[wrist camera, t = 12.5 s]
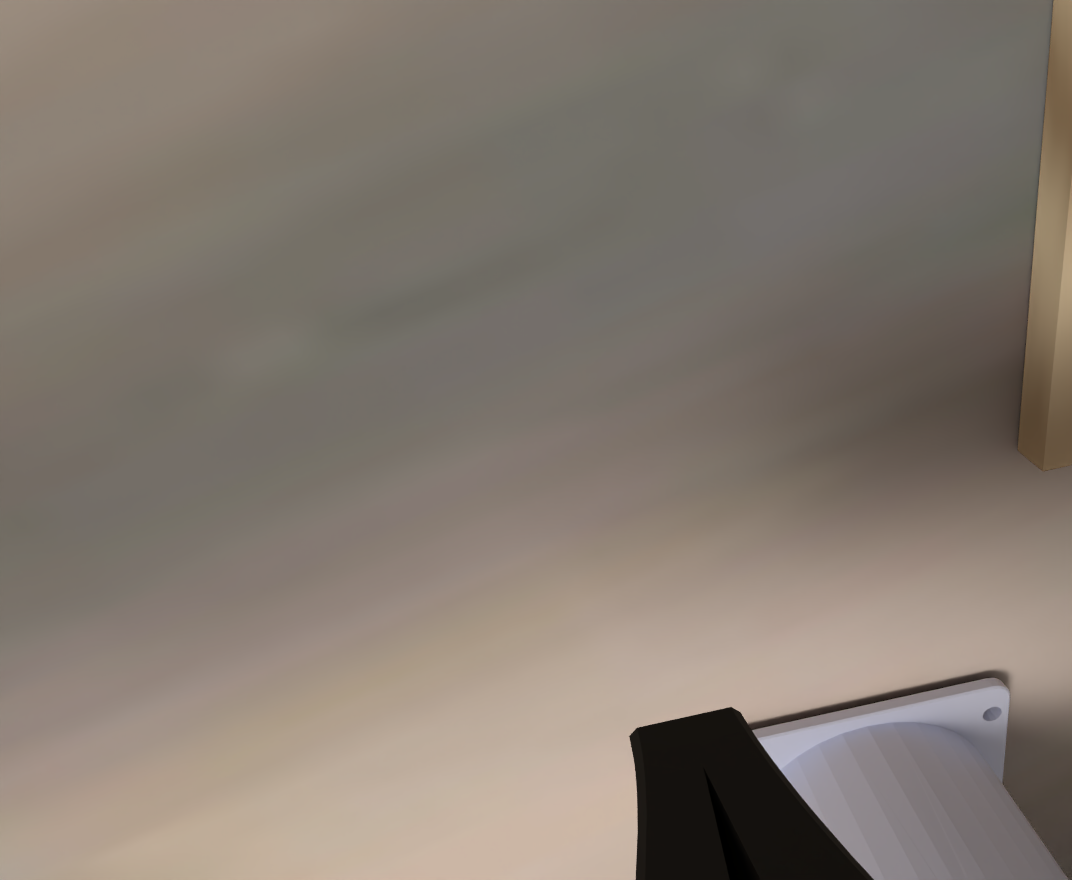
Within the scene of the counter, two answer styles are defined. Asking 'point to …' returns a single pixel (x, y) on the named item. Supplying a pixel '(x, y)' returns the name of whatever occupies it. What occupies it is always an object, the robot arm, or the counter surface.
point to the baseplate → (1052, 271)
